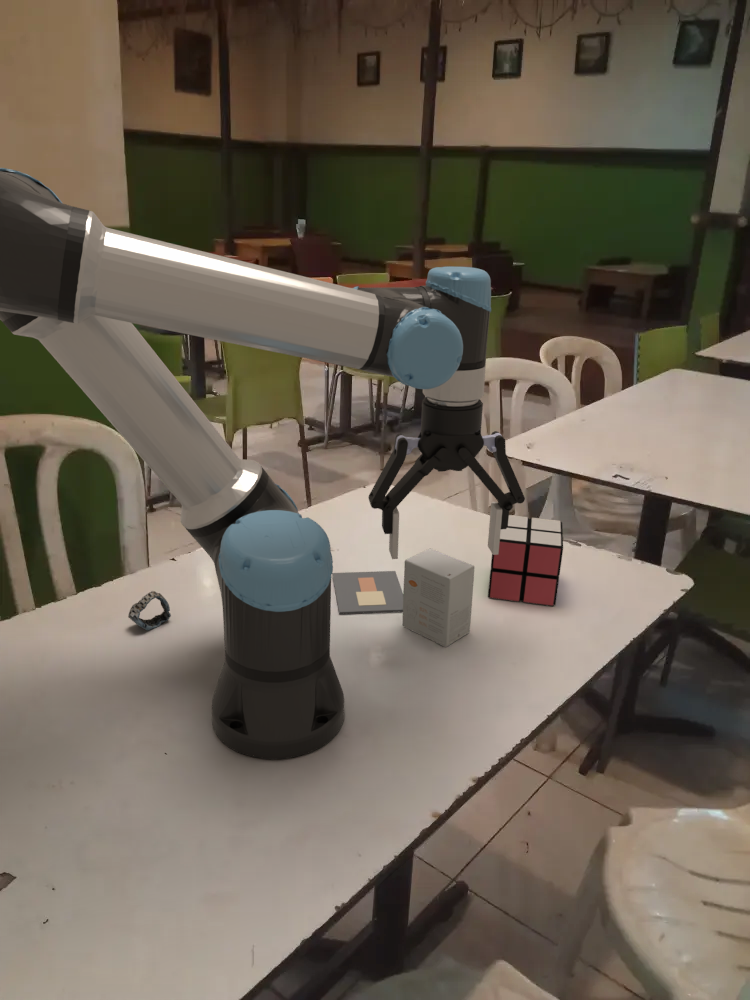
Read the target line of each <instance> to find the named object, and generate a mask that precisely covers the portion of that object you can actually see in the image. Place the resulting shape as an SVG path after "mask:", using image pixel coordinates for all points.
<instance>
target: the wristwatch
mask: <svg viewBox="0 0 750 1000" xmlns="http://www.w3.org/2000/svg"><path fill="white" fill-rule="evenodd" d="M155 598H156V599H157V600H158V601H160V606H161V607H162V609H163V611H162V612H161V613H160V614H157V615H154V617H152V618H150V619H149V618H148V619H142V618H140V615H141V612H142V611H143V610H145V609H146V608H147V606H148V604H149V603H150V602H151V601H153V600H154V599H155ZM170 611H171V607H170V604H169V603H168V600H167V599H166V598H165V597H164V596H163V595H162V594H161V593H160V592H159V593H158V592H156V591H155V590H150V592H148V593H146V594H145V595H144V596H142V597H141V599H140V600H139V601H138V602H136V603H134V604H132V606H131V607H130V610H129V612H128V619H130V620H131V621H132V622H133V623H135V624H136V625H137V626H139V627H140V628H142V629H144V630H145V631H150V630H152V629H156V628H157V627H160V626H161V624H162V623H165V622H167V621H169V619H170V618H171V617H172V614H171V612H170Z"/></svg>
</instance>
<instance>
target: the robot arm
mask: <svg viewBox="0 0 750 1000" xmlns="http://www.w3.org/2000/svg"><path fill="white" fill-rule="evenodd" d="M491 283H492V279H491V277H490V275H489V273H488V271H485V270H484V269H480V268H477V267H470V266H441V267H438V266H436V267H433V268H431V269H429V271H428V273H427V279H426V281H425V285H420V286H412V287H410V286H409V287H393V286H392V287H360V286H359V285H358V286H354V287H347V286H344V285H340V284H336V283H331V282H328V281H324V280H319V279H315V278H312V277H308V276H303V275H300V274H296V273H292V272H287V271H284V270H280V269H276V268H272V267H268V266H263V265H259V264H255V263H252V262H248V261H243V260H240V259H235V258H231V257H228V256H227V257H226V256H223V255H221V254H219V255H218V254H215V253H211V252H207V251H204V250H203V251H202V250H199V249H195V248H190V247H187V246H183V245H179V244H175V243H170V242H166V241H163V240H159V239H154V238H150V237H146V236H143V235H140V234H139V235H138V234H134V233H131V232H127V231H122V230H119V229H113V228H109V227H107V226H105V225H104V224H103V223H102V221H101V220H100V218H99V217H98V216H97V214H96V213H95V212H94V211H93V210H89V209H85V208H81V207H77V206H73V205H69V204H65V203H63V201H61V199H60V198H59V197H58V196H57V194H56V193H55V192H54V191H53V190H52V189H51V188H50V187H48V186H46V185H45V184H44V183H43V182H42V181H40V180H38V179H37V178H34V177H33V176H31V175H29V174H27V173H25V172H21V171H19V170H15V169H12V168H11V169H10V168H6V167H5V168H4V167H0V321H1V322H2V323H3V325H5V327H6V328H7V329H8V330H9V331H10V332H11V333H12V334H13V335H16V336H21V337H28V338H33V339H36V340H38V341H39V343H41V345H42V346H43V347H44V349H46V350H47V352H48V353H49V354H50V355H51V356H52V357H53V358H54V360H55V361H57V363H58V364H59V365H60V367H61V368H62V369H63V370H64V371H65V373H67V375H69V377H70V378H71V379H72V380H73V381H74V382H75V384H76V385H77V387H78V388H80V390H82V392H83V393H84V394H85V395H86V396H87V398H89V400H91V402H92V403H93V404H94V405H95V407H96V408H97V409H98V410H99V411H100V412H101V414H103V416H104V417H105V418H106V419H107V421H109V423H111V425H112V426H113V427H114V428H115V429H116V431H117V432H118V433H119V434H120V436H122V437H123V438H124V440H125V441H126V442H127V443H128V444H129V446H130V447H131V448H132V449H133V450H134V451H135V452H136V454H138V456H139V457H140V458H141V459H142V461H143V462H145V464H146V465H147V467H149V469H151V471H152V472H153V473H154V474H155V475H156V477H157V478H158V479H159V480H160V481H161V483H163V485H164V486H165V487H166V488H167V490H168V491H170V492H171V494H172V495H173V496H174V498H176V500H177V501H178V502H179V504H181V512H180V521H179V522H180V523H181V525H182V526H183V527H184V529H185V530H186V531H187V532H188V533H189V534H190V536H191V537H192V538H193V539H194V540H195V541H196V543H197V544H198V545H199V546H200V547H201V548H202V549H203V551H204V552H205V553H207V555H208V556H209V557H210V558H211V560H212V562H213V564H214V569H215V575H216V577H217V581H218V586H219V587H218V588H219V590H220V596H221V605H222V617H223V618H222V619H223V620H222V621H223V640H224V644H223V645H224V656H225V657H224V662H223V667H222V669H221V672H220V674H219V678H218V681H217V684H216V688H215V690H214V693H213V696H212V700H211V720H212V727H213V731H214V733H215V734H216V736H217V738H218V739H219V740H220V741H221V742H222V743H223V744H224V745H225V746H226V747H228V748H229V749H232V750H233V751H235V752H238V753H239V754H242V755H245V756H248V757H252V758H256V759H257V758H258V759H263V760H264V759H267V760H282V759H290V758H295V757H299V756H303V755H306V754H309V753H312V752H314V751H316V750H318V749H320V748H322V747H323V746H325V745H326V744H328V743H329V742H330V741H332V740H333V738H335V736H337V735H338V733H339V731H340V730H341V728H342V726H343V723H344V721H345V696H344V695H345V694H344V691H343V688H342V685H341V682H340V680H339V678H338V675H337V672H336V669H335V667H334V664H333V661H332V658H331V617H332V615H331V611H332V610H331V609H332V607H331V604H332V603H331V601H332V598H331V597H332V573H334V572H333V571H334V565H333V563H334V560H333V555H332V549H331V542H330V540H329V537H328V535H327V533H326V531H325V530H324V528H323V527H322V526H321V525H320V524H318V522H317V521H315V520H314V519H312V518H310V517H303V516H302V514H300V513H299V510H298V507H297V505H296V503H295V502H294V500H293V498H292V497H291V496H290V495H289V493H288V492H287V491H286V490H285V489H283V488H282V487H281V486H280V485H278V484H277V483H275V482H274V480H273V479H272V478H271V476H270V475H269V474H268V472H266V470H265V469H264V468H263V467H262V465H261V464H260V463H259V462H258V461H256V460H254V459H242V458H240V457H239V456H238V455H237V454H236V452H235V451H234V450H233V449H232V447H231V446H230V445H229V444H228V443H227V441H226V440H225V438H224V437H223V436H222V435H221V434H220V432H219V431H218V430H217V428H216V427H215V426H214V425H213V424H212V422H211V421H210V420H209V418H208V417H207V416H206V414H205V413H204V412H203V411H202V410H201V408H200V407H199V406H198V405H197V404H196V402H195V401H194V400H193V398H192V396H190V394H189V393H188V392H187V390H185V388H184V387H183V386H182V385H181V384H180V382H179V381H178V380H177V377H176V376H175V375H174V374H173V373H172V372H171V371H170V370H169V368H168V367H167V365H166V364H165V363H164V362H163V361H162V359H161V358H160V357H159V356H158V355H157V352H155V350H154V349H153V348H152V347H151V345H150V344H149V343H148V342H147V340H146V339H145V338H144V337H143V336H142V334H141V332H139V330H138V329H137V327H135V325H141V326H145V327H150V328H154V329H160V330H166V331H170V332H173V333H174V332H175V333H180V334H186V335H188V336H189V335H190V336H195V337H199V338H204V339H210V340H214V341H215V340H216V341H218V342H219V341H220V342H223V343H229V344H235V345H239V346H244V347H249V348H254V349H258V350H263V351H269V352H273V353H279V354H283V355H287V356H293V357H298V358H303V359H309V360H313V361H318V362H323V363H328V364H333V365H337V366H343V367H347V368H352V369H357V370H361V371H364V372H367V373H372V374H376V375H377V374H378V375H382V376H386V377H391V378H394V379H396V380H397V381H398V382H400V383H401V384H402V385H405V386H408V387H412V388H414V389H418V390H422V394H423V395H424V396H425V397H424V398H423V399H422V400H421V401H422V402H421V420H420V432H419V434H418V436H417V437H415V436H414V437H411V436H405V435H404V434H403V433H398V434H396V435H395V438H394V444H393V450H392V452H391V453H390V455H389V458H388V460H387V461H386V463H385V465H384V467H383V468H382V471H381V472H380V474H379V476H378V478H377V480H376V482H375V483H374V486H373V487H372V489H371V491H370V492H369V495H368V496H367V497H368V502H369V504H370V507H371V508H372V509H374V510H375V509H378V510H381V513H382V514H381V528H382V530H383V533H384V535H389V539H388V540H389V541H388V544H389V545H388V547H389V549H388V550H389V553H390V558H391V559H392V560H398V559H399V535H400V533H399V532H400V531H399V530H400V512H399V509H398V506H399V505H400V504H401V503H402V502H403V501H404V500H405V498H407V496H408V495H409V494H410V493H411V492H412V491H413V490H414V489H415V487H417V485H418V484H419V483H420V482H421V481H422V480H423V479H424V477H426V476H428V475H429V474H430V473H431V472H432V471H433V470H436V471H437V472H439V473H440V472H447V471H454V472H463V470H464V469H466V468H468V467H469V468H470V469H471V471H472V472H473V473H474V474H475V476H476V477H477V478H478V479H479V480H480V481H481V483H482V484H483V486H485V488H486V489H487V490H488V491H489V492H490V494H491V495H492V496H493V497H494V498H495V500H497V501H490V513H489V514H490V515H489V526H488V535H487V537H488V538H487V547H488V549H489V550H490V552H491V555H492V554H493V555H498V554H499V543H500V532H501V529H506V528H507V526H508V519H509V515H510V511H511V510H513V509H514V508H513V507H514V506H513V505H515V504H523V503H524V502H525V500H526V497H525V495H524V493H523V490H522V488H521V486H520V483H519V481H518V478H517V476H516V474H515V471H514V469H513V466H512V465H511V463H510V460H509V458H508V455H507V449H506V447H507V446H506V439H505V437H504V436H503V435H502V434H501V433H500V432H499V431H497V430H496V431H493V432H492V433H491V434H488V435H482V424H483V423H482V422H483V409H484V407H483V406H484V403H483V402H482V400H481V399H482V398H483V397H484V395H485V379H486V365H487V364H486V363H487V350H488V349H487V348H488V338H489V337H488V335H489V327H490V326H489V325H490V317H491V316H490V314H491V313H492V307H491V306H492V302H491V301H492V288H491V287H492V285H491ZM134 324H135V325H134ZM484 446H485V447H486V448H487V450H488V451H489V452H490V453H492V455H493V456H494V459H495V462H496V464H497V466H498V468H499V470H500V473H501V475H502V477H503V479H504V481H505V484H506V487H507V488H508V489H507V490H508V491H509V492H506V493H504V491H503V490H502V489H501V488H500V487H499V485H498V484H497V483H496V482H495V480H494V479H493V478H492V477H491V475H490V474H489V473H488V472H487V470H486V469H484V467H483V466H482V465H481V463H479V460H477V458H476V457H477V456H478V455H479V453H480V452H481V450H482V449H483V448H484ZM416 448H417V449H418V450H419V452H420V456H418V457H417V458H416V460H415V461H414V463H413V465H412V466H411V467H410V469H408V471H406V472H405V474H404V475H403V476H402V477H401V478H400V479H399V480H398V481H397V483H396V484H394V486H393V487H392V488H391V486H392V484H393V483H394V481H395V479H396V477H397V475H398V473H399V472H400V470H401V468H402V466H403V464H404V463H405V460H406V458H407V455H410V454H411V453H412V452H413V450H414V449H416ZM390 488H391V490H390ZM388 491H389V492H388Z"/></svg>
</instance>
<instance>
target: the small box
mask: <svg viewBox="0 0 750 1000" xmlns="http://www.w3.org/2000/svg"><path fill="white" fill-rule="evenodd" d="M475 569H476V567H475V565H474V564H472V563H468V562H465V561H464V560H461V559H459V558H456V557H454V556H451V555H448V554H446V553H443V552H441V551H439V550H436V549H433V548H427V549H426V550H423V551H421V552H419V553H417V554H415V555H412V556H410V557H409V558H406V559H405V560H404V572H403V573H404V574H403V575H404V576H403V590H402V592H403V612H402V619H401V620H402V621H401V623H402V625H401V626H403V627H404V628H406V629H407V630H410V631H411V632H414V633H415V634H418V635H420V636H422V637H424V638H426V639H428V640H430V641H432V642H434V643H436V644H438V645H441V646H442V647H445V648H447V647H449V646H450V645H451V644H453V643H455V642H456V641H458V640H460V639H461V638H463V637H464V636H466V635H467V634H469V633H470V631H471V620H472V619H471V618H472V611H473V610H472V606H473V596H474V595H473V594H474V580H475Z"/></svg>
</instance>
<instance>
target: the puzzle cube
mask: <svg viewBox="0 0 750 1000" xmlns="http://www.w3.org/2000/svg"><path fill="white" fill-rule="evenodd" d="M563 532H564V531H563V522H562V520H557V519H547V518H538V517H531V518H529V516H521V515H511V514H509V519H508V526H507V528H506V529H501V532H500V543H499V554H498V555H493V554H492V553H491V562H490V572H489V583H488V591H487V597H488V598H489V599H493V600H499V601H500V600H501V601H510V602H514V603H515V602H516V603H520V602H522V603H524V604H532V605H539V606H540V605H541V606H546V605H548V606H549V607H554V606H556V603H557V597H558V588H559V581H560V574H561V573H560V572H561V567H562V561H563V552H564V536H563V534H564V533H563Z"/></svg>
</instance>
